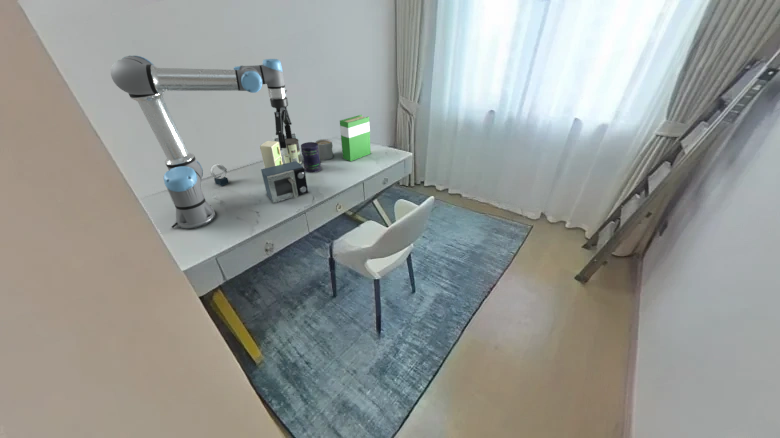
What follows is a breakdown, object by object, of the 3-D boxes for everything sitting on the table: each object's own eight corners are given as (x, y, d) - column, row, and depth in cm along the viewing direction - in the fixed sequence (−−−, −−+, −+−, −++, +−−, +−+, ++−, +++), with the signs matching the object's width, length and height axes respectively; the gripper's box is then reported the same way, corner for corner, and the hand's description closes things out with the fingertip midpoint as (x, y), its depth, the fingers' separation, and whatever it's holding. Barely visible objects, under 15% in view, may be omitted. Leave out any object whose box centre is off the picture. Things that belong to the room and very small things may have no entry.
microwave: (308, 193, 163) (304, 168, 155) (274, 203, 154) (268, 177, 147) (300, 185, 171) (296, 161, 163) (266, 194, 162) (260, 169, 154)
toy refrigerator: (280, 183, 172) (272, 146, 161) (267, 182, 173) (259, 145, 162) (286, 177, 179) (279, 141, 167) (274, 176, 180) (267, 140, 168)
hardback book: (362, 150, 213) (361, 114, 200) (370, 153, 209) (369, 116, 196) (342, 158, 202) (339, 120, 189) (350, 161, 198) (347, 123, 185)
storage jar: (315, 173, 183) (311, 149, 174) (301, 171, 186) (296, 146, 177) (324, 167, 190) (321, 143, 182) (310, 164, 193) (307, 141, 185)
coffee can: (293, 158, 202) (289, 136, 194) (305, 161, 197) (301, 139, 190) (281, 163, 195) (276, 141, 187) (292, 167, 190) (288, 144, 182)
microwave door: (303, 201, 156) (299, 175, 149) (278, 208, 150) (272, 182, 143) (297, 194, 162) (292, 169, 154) (272, 201, 156) (266, 176, 148)
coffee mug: (325, 161, 198) (323, 145, 193) (314, 157, 203) (312, 142, 198) (339, 154, 207) (338, 139, 202) (328, 151, 212) (327, 136, 207)
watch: (232, 181, 174) (226, 163, 168) (218, 187, 168) (212, 168, 162) (225, 179, 176) (220, 160, 170) (212, 184, 171) (206, 165, 165)
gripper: (280, 104, 132) (289, 152, 144) (292, 91, 153) (298, 134, 165) (262, 104, 132) (272, 152, 143) (276, 91, 153) (284, 134, 164)
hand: (286, 143), depth 154 cm, fingers open, 13 cm apart
